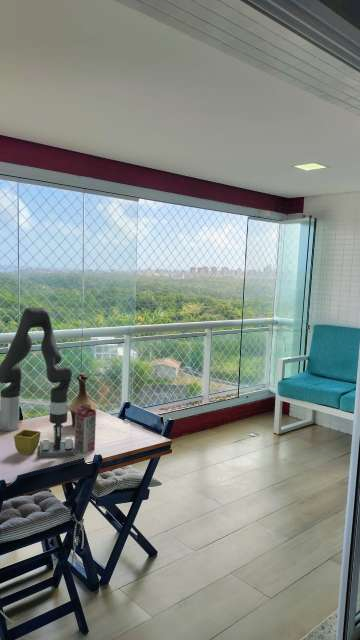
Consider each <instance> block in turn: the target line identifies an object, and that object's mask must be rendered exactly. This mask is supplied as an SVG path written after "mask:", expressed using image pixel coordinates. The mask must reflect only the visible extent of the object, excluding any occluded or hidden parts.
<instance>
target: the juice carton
mask: <svg viewBox="0 0 360 640" xmlns="http://www.w3.org/2000/svg"><path fill="white" fill-rule="evenodd" d="M96 417H97V411H96V410H93V409H91V405H89V404H85V403H82V402H81V406H80V407H79V408H78V409H77V410H76V411H75V427H74V440H73V446H74V451H76V452H79V453H81V454H87V453H91V452H94V451H95V450H96V449H95V447H96V426H97V425H96V423H97V421H96V420H97V419H96Z"/></svg>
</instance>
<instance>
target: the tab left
mask: <svg viewBox="0 0 360 640" xmlns="http://www.w3.org/2000/svg"><path fill="white" fill-rule="evenodd" d="M42 441H43V450H48V449H49V441H50V438H49V437H48V438H47V437H45V438H42Z"/></svg>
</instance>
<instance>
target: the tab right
mask: <svg viewBox="0 0 360 640" xmlns="http://www.w3.org/2000/svg"><path fill="white" fill-rule="evenodd" d="M65 440H66V442H65V448H66V449H70V448H71V445H72V440H73V437H65Z"/></svg>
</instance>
